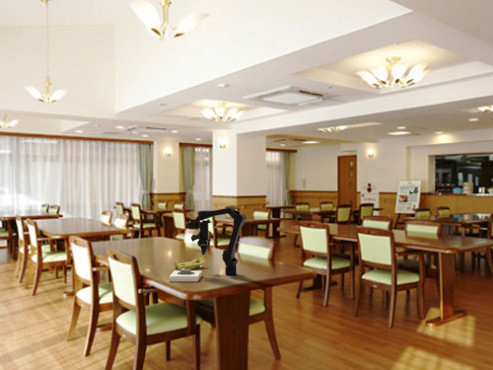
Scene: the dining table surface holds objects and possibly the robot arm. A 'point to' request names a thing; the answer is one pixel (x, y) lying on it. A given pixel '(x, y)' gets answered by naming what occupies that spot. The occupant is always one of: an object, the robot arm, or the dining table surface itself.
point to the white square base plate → (185, 276)
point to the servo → (185, 271)
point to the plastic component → (190, 264)
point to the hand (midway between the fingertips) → (204, 253)
